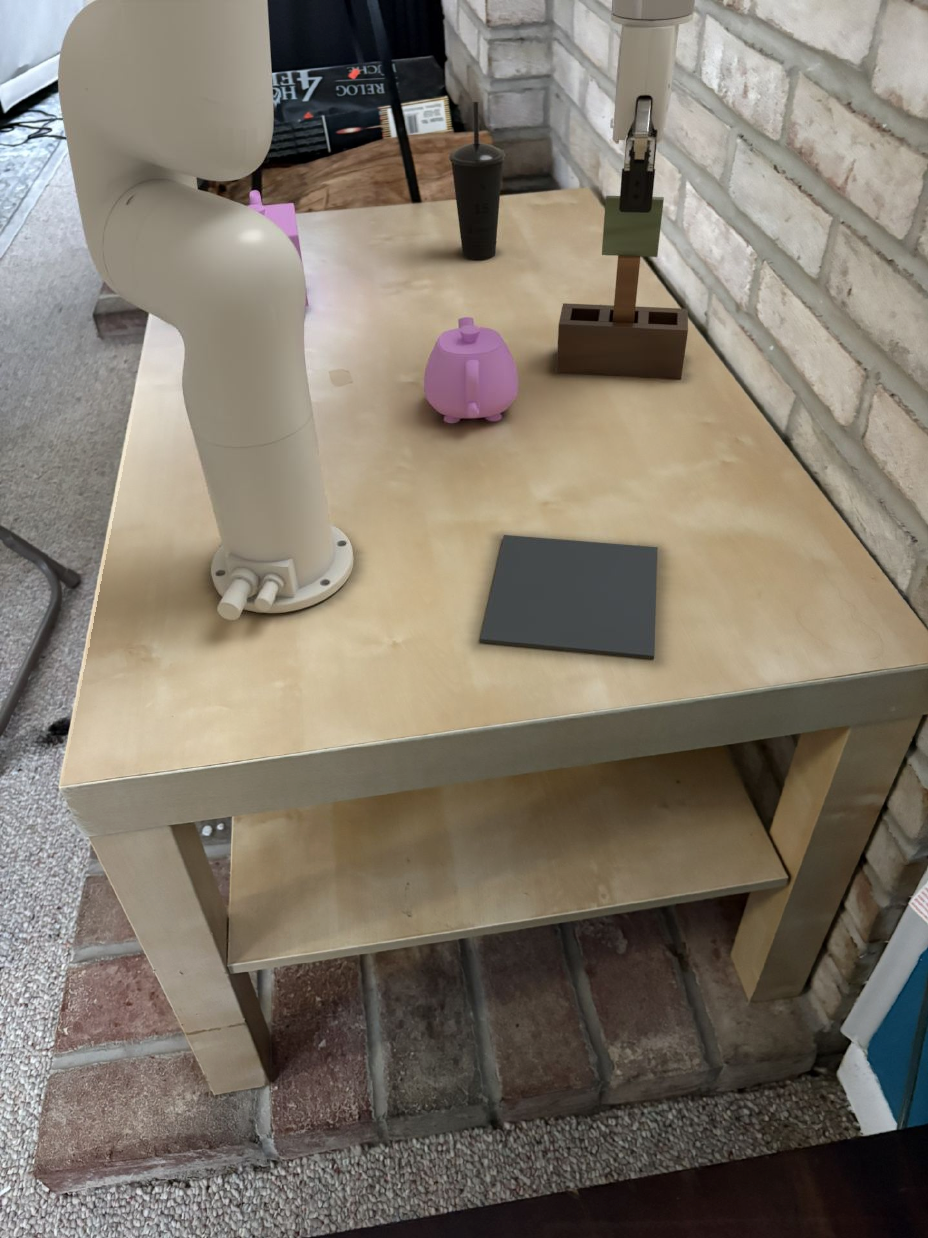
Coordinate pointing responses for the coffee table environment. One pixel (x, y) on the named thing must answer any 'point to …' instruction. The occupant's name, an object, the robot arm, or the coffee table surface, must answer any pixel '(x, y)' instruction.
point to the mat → (573, 597)
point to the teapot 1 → (279, 219)
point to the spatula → (629, 249)
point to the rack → (622, 341)
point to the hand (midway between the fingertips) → (636, 194)
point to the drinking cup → (477, 194)
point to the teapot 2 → (470, 374)
